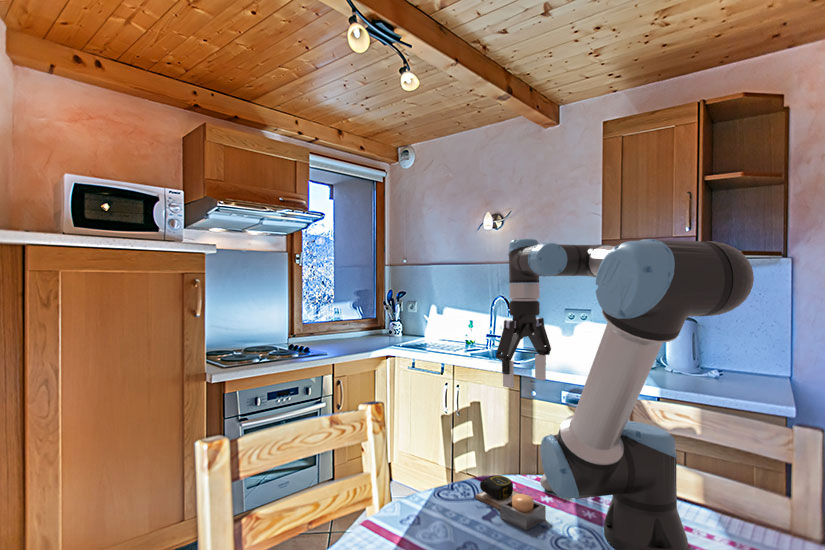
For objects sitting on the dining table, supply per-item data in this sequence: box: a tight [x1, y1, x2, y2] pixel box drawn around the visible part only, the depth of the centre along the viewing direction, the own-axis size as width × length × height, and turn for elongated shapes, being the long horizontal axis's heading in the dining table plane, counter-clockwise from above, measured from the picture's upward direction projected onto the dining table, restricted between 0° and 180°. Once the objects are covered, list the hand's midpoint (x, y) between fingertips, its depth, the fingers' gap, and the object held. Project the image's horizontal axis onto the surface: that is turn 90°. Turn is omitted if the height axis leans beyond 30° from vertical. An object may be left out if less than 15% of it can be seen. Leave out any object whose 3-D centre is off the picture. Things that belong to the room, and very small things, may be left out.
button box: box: [499, 499, 547, 531], centre depth 102 cm, size 7×7×3 cm
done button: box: [512, 493, 534, 514], centre depth 102 cm, size 5×5×3 cm
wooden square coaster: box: [474, 489, 522, 510], centre depth 112 cm, size 9×9×1 cm
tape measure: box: [479, 475, 514, 500], centre depth 112 cm, size 7×7×4 cm
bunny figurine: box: [540, 473, 554, 492], centre depth 116 cm, size 5×7×8 cm
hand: (525, 383), depth 118 cm, fingers open, 13 cm apart
